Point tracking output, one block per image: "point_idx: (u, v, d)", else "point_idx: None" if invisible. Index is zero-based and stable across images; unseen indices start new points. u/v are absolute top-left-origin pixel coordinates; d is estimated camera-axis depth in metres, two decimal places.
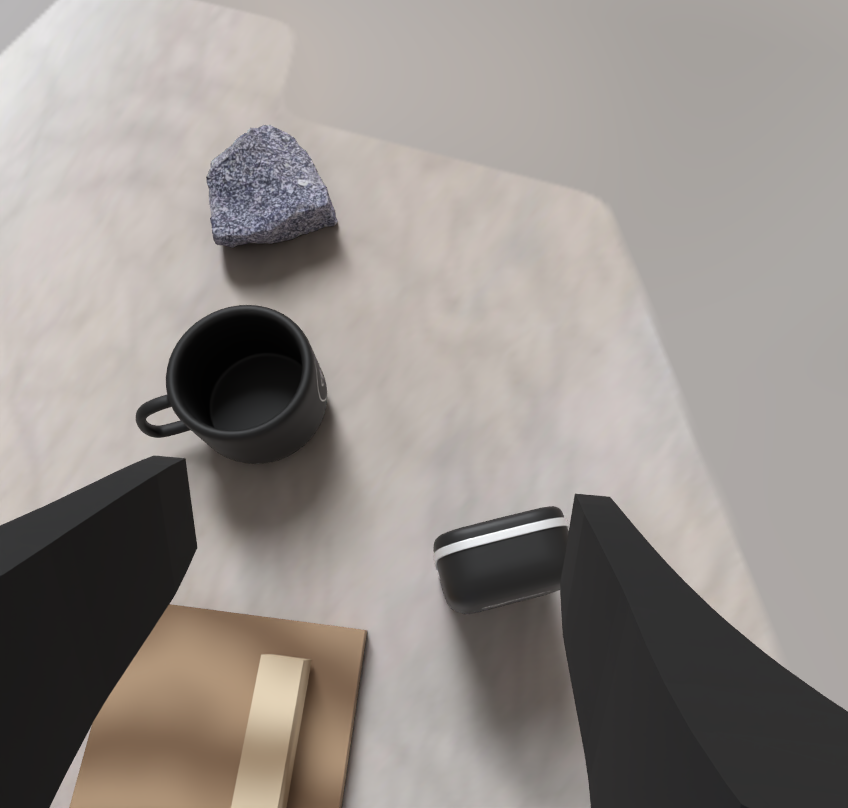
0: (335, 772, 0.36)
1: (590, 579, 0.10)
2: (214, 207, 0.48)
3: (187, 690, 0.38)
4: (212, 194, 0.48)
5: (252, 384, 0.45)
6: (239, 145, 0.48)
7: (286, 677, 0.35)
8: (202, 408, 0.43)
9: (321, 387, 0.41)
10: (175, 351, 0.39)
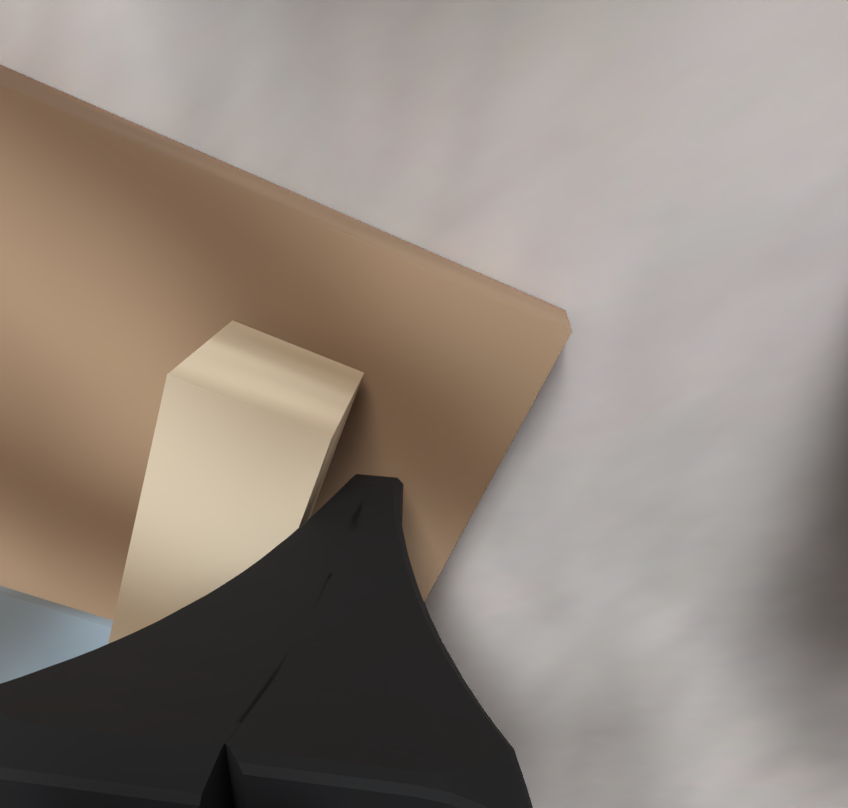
0: None
1: None
2: None
3: None
4: None
5: None
6: None
7: (260, 474, 0.09)
8: None
9: None
10: None
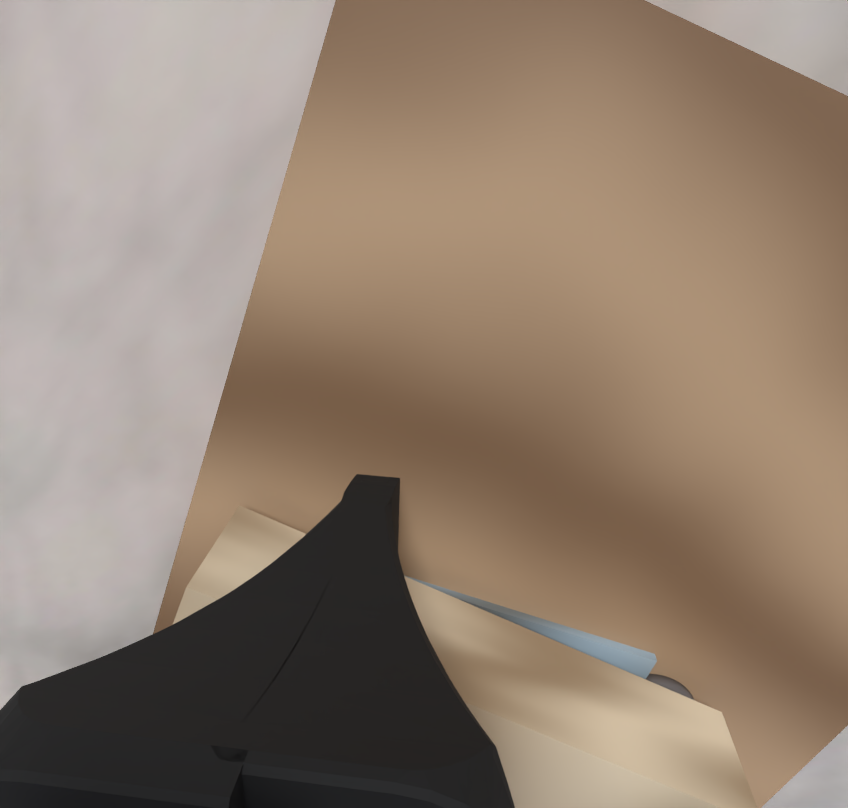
0: None
1: None
2: None
3: (558, 318, 0.11)
4: None
5: None
6: None
7: None
8: None
9: None
10: None
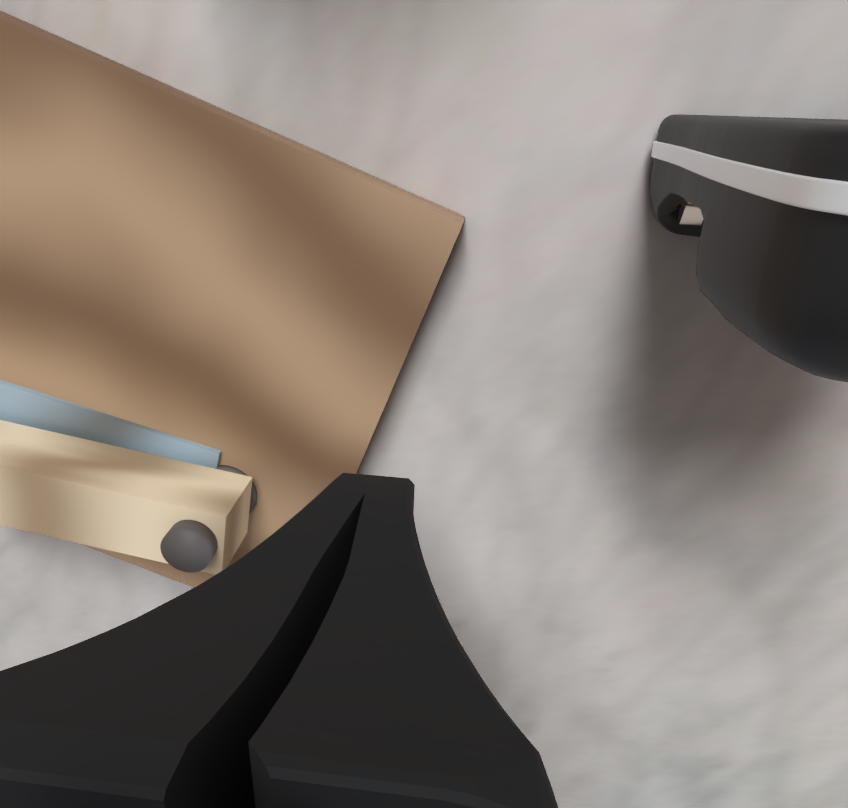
0: (358, 432, 0.22)
1: None
2: None
3: (106, 234, 0.20)
4: None
5: None
6: None
7: None
8: None
9: None
10: None
